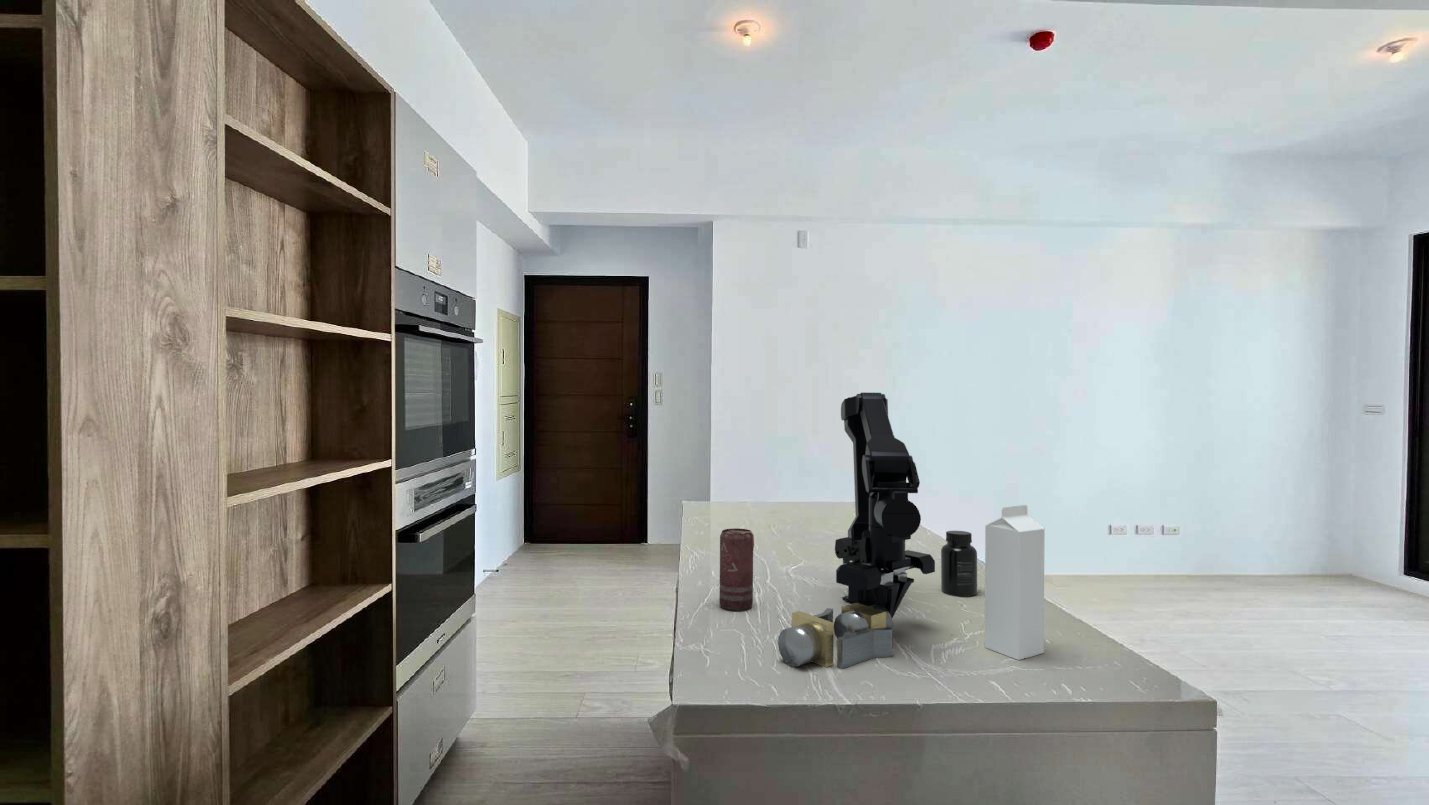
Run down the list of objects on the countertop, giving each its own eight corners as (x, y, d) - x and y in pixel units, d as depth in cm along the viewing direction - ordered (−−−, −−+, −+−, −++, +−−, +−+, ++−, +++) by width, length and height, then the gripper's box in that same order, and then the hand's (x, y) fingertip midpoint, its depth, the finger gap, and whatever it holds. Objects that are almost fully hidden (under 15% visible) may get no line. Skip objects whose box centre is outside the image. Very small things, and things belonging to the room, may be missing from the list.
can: (751, 612, 118) (752, 534, 118) (716, 610, 120) (717, 532, 120) (756, 603, 124) (756, 528, 124) (722, 600, 126) (723, 526, 126)
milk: (1044, 654, 100) (1046, 507, 100) (1018, 661, 97) (1020, 510, 97) (1008, 641, 105) (1010, 502, 105) (983, 647, 102) (985, 504, 102)
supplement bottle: (980, 591, 134) (980, 531, 134) (973, 599, 128) (973, 537, 128) (945, 586, 137) (945, 528, 137) (936, 593, 132) (937, 533, 132)
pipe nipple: (864, 632, 109) (865, 600, 109) (894, 642, 104) (894, 609, 104) (832, 642, 104) (832, 609, 104) (861, 653, 99) (861, 618, 99)
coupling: (828, 632, 109) (829, 595, 109) (893, 655, 98) (894, 615, 98) (760, 652, 99) (760, 612, 99) (824, 681, 89) (824, 636, 89)
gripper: (882, 513, 120) (882, 600, 120) (810, 524, 108) (810, 620, 108) (936, 522, 111) (936, 615, 111) (865, 535, 99) (865, 639, 99)
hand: (886, 621), depth 107 cm, fingers closed
